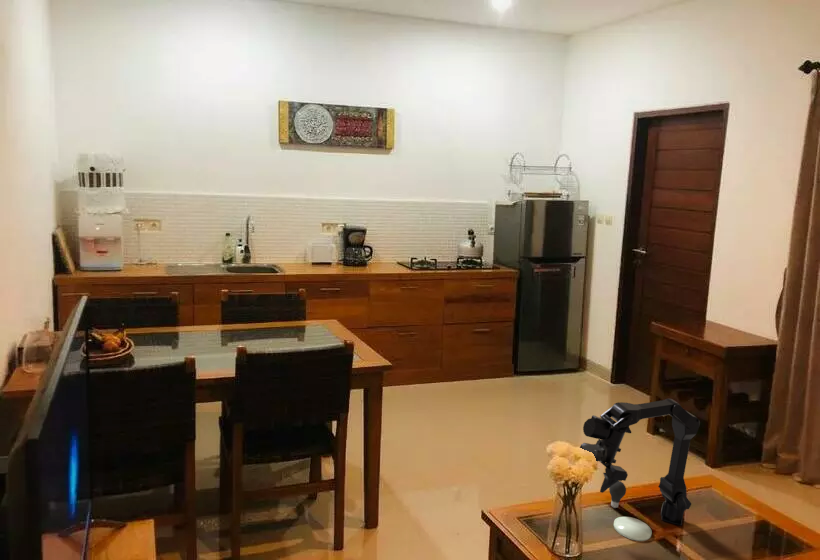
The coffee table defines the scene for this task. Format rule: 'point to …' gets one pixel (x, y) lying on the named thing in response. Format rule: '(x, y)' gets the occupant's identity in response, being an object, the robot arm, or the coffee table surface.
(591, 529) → the coffee table surface
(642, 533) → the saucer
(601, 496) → the coffee table surface
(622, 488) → the light bulb
